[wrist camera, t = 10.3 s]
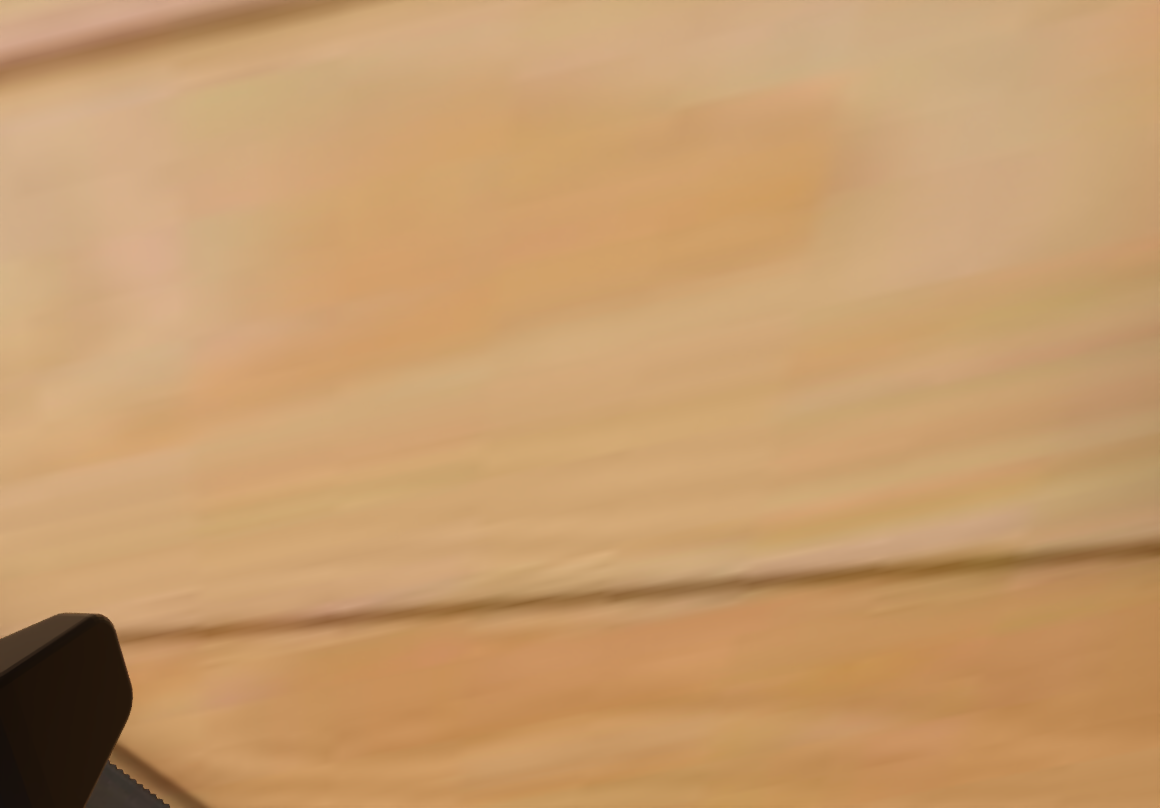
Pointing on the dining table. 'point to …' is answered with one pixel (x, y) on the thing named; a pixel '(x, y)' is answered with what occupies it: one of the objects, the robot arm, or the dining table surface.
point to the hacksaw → (121, 792)
